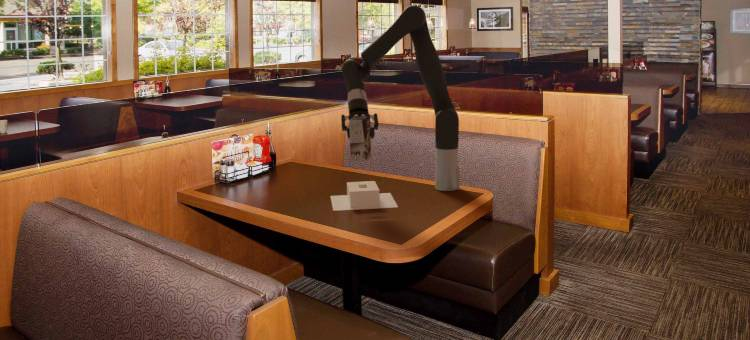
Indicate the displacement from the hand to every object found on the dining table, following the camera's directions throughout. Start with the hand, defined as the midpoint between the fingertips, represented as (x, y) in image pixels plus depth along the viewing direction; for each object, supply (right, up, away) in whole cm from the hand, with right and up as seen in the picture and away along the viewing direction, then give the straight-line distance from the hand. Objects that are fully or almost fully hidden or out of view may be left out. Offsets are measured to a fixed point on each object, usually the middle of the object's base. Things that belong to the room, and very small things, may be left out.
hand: (361, 138), depth 230 cm
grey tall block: (0, -8, +1) cm, 8 cm away
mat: (0, -24, +5) cm, 25 cm away
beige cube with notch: (0, -24, +5) cm, 24 cm away
